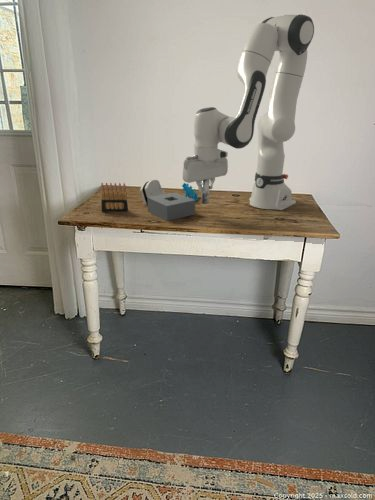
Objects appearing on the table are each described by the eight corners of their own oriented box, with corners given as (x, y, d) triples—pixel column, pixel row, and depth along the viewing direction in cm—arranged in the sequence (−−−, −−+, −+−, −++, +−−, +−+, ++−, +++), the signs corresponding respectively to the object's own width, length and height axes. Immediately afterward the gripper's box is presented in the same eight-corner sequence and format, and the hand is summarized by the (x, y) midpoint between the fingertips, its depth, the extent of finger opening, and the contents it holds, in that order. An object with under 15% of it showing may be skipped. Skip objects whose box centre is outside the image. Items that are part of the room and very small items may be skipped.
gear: (193, 200, 154) (180, 182, 155) (184, 208, 157) (171, 190, 158) (203, 197, 164) (190, 181, 164) (194, 205, 167) (182, 188, 167)
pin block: (174, 205, 152) (174, 192, 150) (194, 214, 142) (195, 200, 140) (147, 211, 144) (147, 197, 142) (166, 220, 134) (166, 206, 132)
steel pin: (205, 201, 140) (205, 176, 136) (210, 202, 138) (210, 178, 134) (200, 202, 138) (200, 177, 134) (204, 204, 136) (205, 179, 132)
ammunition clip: (101, 211, 142) (99, 183, 137) (102, 210, 144) (100, 182, 139) (127, 211, 143) (126, 183, 138) (128, 210, 145) (126, 182, 140)
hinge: (154, 205, 151) (146, 184, 148) (145, 208, 153) (137, 186, 150) (167, 195, 166) (160, 175, 163) (158, 198, 168) (151, 178, 164)
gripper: (189, 158, 122) (189, 196, 128) (230, 152, 133) (229, 187, 139) (178, 156, 127) (179, 193, 132) (219, 150, 138) (218, 184, 144)
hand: (205, 190), depth 136 cm, fingers closed on steel pin, 3 cm apart
